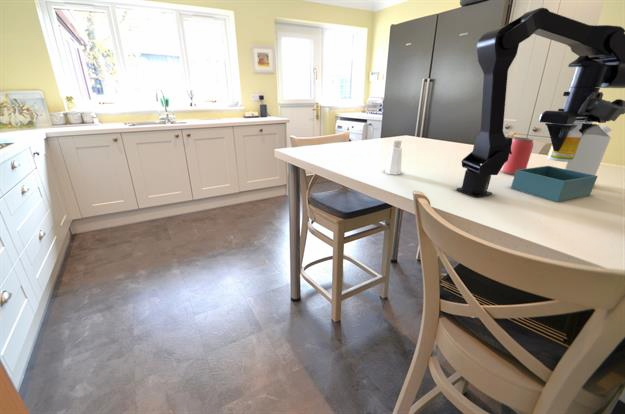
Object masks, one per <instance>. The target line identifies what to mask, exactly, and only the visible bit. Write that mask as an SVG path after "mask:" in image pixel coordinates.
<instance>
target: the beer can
mask: <svg viewBox="0 0 625 414" xmlns="http://www.w3.org/2000/svg"><path fill="white" fill-rule="evenodd" d="M533 148H534V139H533V138H529V137H521V136H519V137H517V136H515V137H513V138H512V145H511V152H512V154H509V158H508V161H507V162H505V163H504V165H503V167H502V172H503V173H504V174H507V175H511V176H515V172H516V170H520V169H527V168H528V164H529V161H530V159H531V154H532V151H533Z"/></svg>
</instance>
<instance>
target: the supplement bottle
mask: <svg viewBox="0 0 625 414" xmlns="http://www.w3.org/2000/svg"><path fill="white" fill-rule="evenodd" d="M573 125H578V126H577V127H576V128H574V129H572V130H571V131H569V133H568V135H567V137H566V139H565V141H564V143H563V145H562V147H561V148H560V150H559V151H558V152H557V151H554V150H553V146H552V144H551V146H550V148H549V151H548V154H547V160H551V161H555V162H564V163H567V162H571V161H573V159H574V156H575V153H576V150H577V148H578V145H579V142H580V140H581V137H582V133H581V132H579V129H581V127H582V123H573Z"/></svg>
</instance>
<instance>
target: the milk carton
mask: <svg viewBox="0 0 625 414" xmlns="http://www.w3.org/2000/svg"><path fill="white" fill-rule="evenodd" d="M596 124H598V126H595V127H593V128H591V129H589V130H587V131H586V132H585V133H584V135H583V136H582V137H581V140H580V142H579V145H578V148H577V150H576V153H575V156H574V159H573V161H571V162H566V165H565V167H564V169H566V170H571V171H576V172H581V173H586V174H590V175H595V176H597V172H598V170H599V168H600V165H601V162H602V160H603V158H604V155H605V152H606V151H607V148H608V146H609V143H610V141H611V139H612V136H611V135H610V134H609V133H610V132H612V131H613V129H612V128H611V127H610V126H609V125H608V124H605V125H604V126H601V125H600V123H598V122H596Z"/></svg>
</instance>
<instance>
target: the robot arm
mask: <svg viewBox="0 0 625 414" xmlns="http://www.w3.org/2000/svg"><path fill="white" fill-rule="evenodd" d="M532 35H535V36H539V37H542V38H545V39H548V40H551V41H554V42H557V43H560V44H563V45H565V46H568V47H569V48H570V50H571V52H572V53H574V54H576V55H577V56H578V57H577V58H576V59H575V60H573V61H571V62H570V63H568V65H567V66H568V68H575V70H574V73H573V77H572V79H571V81H570V85H569V88H568V91H564V92H563V94H562V96H563V97H566V98H565V100H564V103H563V106H562V108H558V109H557V110H544V112H542V113H540V116H539V119H538V123H545V124H544V125H545V126H546V128H547V131H548V133H549V137H550V141H551V145H552V146H553V150H554V151H557V152H558V151H559V150H560V148H561V147H562V145H563V143H564V141H565V139H566V137H567V135H568V133H569V131H571V130H572V129H574V128H576V127H577V126H578V125H573V123H582V127H581V129H579V132H581V133H582V136H583V135H584V133H585V132H586V131H587V130H589V129H591V128H593V127H595V126H598V124H597V123H599V124H606V123H607V122H610V121H612V122H616V121H617V119H618V118H619V117H620V116H622V115H625V100H624V99H621V98H617V99H614V100H613V101H610V100H606V99H603V97H604V93H603V91H600V90H601V89H625V28H624V27H622V26H620V25H609V24H601V25H596V24H595V25H594V24H593V25H592V24H587V23H585V22H581V21H578V20H575V19H573V18H570V17H567V16H565V15H562V14H558V13H556V12H553V11H550V10H549V9H548V8H547V7H539V8H536V9H533V10H530V11H527V12H524V13H523V14H522V15H521V16H519V17H518V18H516V19H514V20H512V21H510V22H508V23H507V24H504V25H503V26H501V27H498V28H495V29H492V30H489V31H486V32H484V33H483V34H482V35H481V37H480V38H479V39H478V41H477V44H476V53H477V61H478V64H479V67H480V69H481V71H482V72H483V73H482V74H483V78H482V79H483V81H482V82H483V83H482V99H481V100H482V101H481V117H480V118H481V120H480V131H479V134H478V135H477V137H476V139H475V141H474V143H473V148H472V151H471V152H470V153H468V154H467V155H466V156H465V157H463V158H462V159H461V167H462V168H463V169H466V170H465V171H464V176H463V181H462V185H461V187H457V188H456V189H455V190H456V191H457V192H460V193H463V194H466V195H468V196H471V197H474V198H478V197H484V196H492V194H493V192H491V191H488V190H489V186H490V184H491V183H490V182H491V178H492V176H498V175H499V173H500V171H502V169H503V166H504V163H505V162H507V161H508V158H509V154H512V152H511V145H512V140H513V138H512V137H509V136H506V135H505V133H504V123H505V113H506V112H505V111H506V99H507V88H508V87H507V86H508V78H509V77H508V75H509V69H510V68H511V66H512V64H513V62H514V60H515V58H516V56H517V54H518V51H519V47H520V44H521V43H522V42H524V41H526V40H527V39H529V38H530V37H532Z"/></svg>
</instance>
